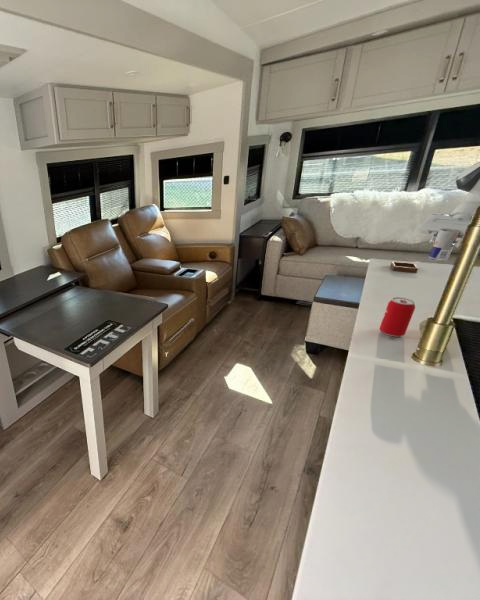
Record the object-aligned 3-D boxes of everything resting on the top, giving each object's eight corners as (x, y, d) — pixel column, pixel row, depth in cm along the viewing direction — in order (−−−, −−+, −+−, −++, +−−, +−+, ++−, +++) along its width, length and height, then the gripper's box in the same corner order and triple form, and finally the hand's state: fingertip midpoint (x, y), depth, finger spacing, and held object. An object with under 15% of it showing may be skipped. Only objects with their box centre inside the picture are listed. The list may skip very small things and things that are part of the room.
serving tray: (413, 267, 153) (414, 263, 153) (416, 272, 147) (418, 268, 147) (390, 265, 158) (391, 261, 157) (392, 270, 152) (394, 266, 151)
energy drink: (428, 257, 130) (440, 227, 125) (447, 259, 126) (460, 229, 121) (426, 260, 127) (438, 230, 122) (446, 262, 123) (459, 232, 118)
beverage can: (401, 330, 106) (413, 298, 101) (406, 339, 101) (420, 306, 96) (376, 327, 109) (387, 295, 104) (380, 335, 104) (392, 303, 99)
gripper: (430, 207, 130) (408, 234, 131) (506, 214, 112) (479, 245, 113) (432, 217, 133) (410, 243, 134) (506, 224, 116) (480, 255, 117)
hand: (442, 244), depth 124 cm, fingers closed on energy drink, 5 cm apart
